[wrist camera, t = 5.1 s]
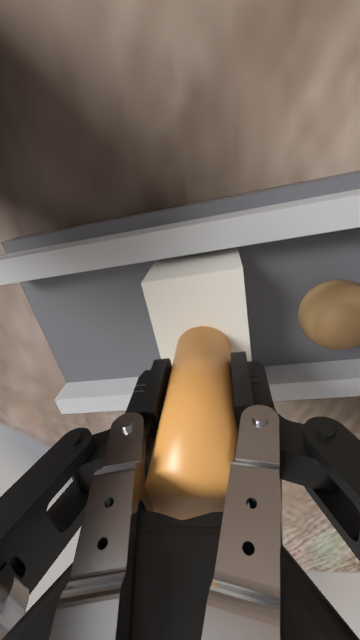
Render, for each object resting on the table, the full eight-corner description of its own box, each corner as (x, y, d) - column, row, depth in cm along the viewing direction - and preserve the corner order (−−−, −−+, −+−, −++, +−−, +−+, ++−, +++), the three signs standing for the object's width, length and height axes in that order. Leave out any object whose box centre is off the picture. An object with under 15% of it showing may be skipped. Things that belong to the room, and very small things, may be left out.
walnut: (361, 265, 17) (401, 290, 13) (356, 324, 18) (389, 361, 15) (290, 275, 17) (309, 301, 14) (291, 331, 19) (308, 367, 16)
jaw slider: (237, 247, 17) (272, 379, 6) (249, 365, 20) (283, 572, 10) (155, 260, 18) (65, 394, 7) (181, 370, 21) (147, 565, 11)
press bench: (440, 154, 15) (615, 142, 8) (400, 367, 21) (482, 456, 15) (15, 238, 20) (-85, 271, 13) (83, 391, 26) (37, 466, 19)
